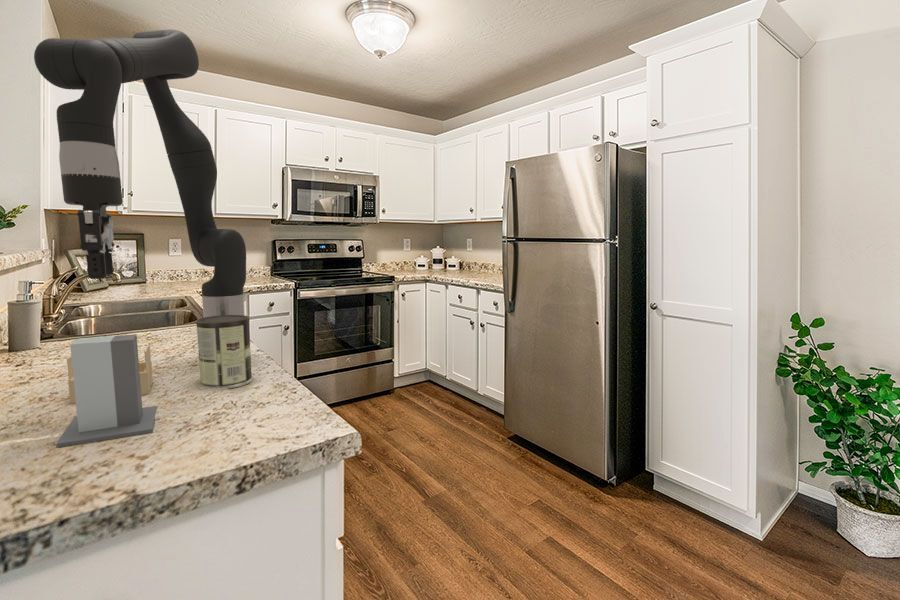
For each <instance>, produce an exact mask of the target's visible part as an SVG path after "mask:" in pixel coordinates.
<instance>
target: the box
mask: <svg viewBox="0 0 900 600" xmlns="http://www.w3.org/2000/svg"><path fill="white" fill-rule="evenodd" d="M137 335H138V334H134V333H133V334H124V335H122V334H121V335H110V336H108V335H107V336H95V337H93V336H92V337H82V338H81V337H80V338H76V339H75V340H74V341H72V343H70V355H71V357H72V367H73V378H74V388H75V399H76V403H75V406H76V417H77V420H78V430H79V432H85V431H91V430H98V429H105V428H111V427H118V426H125V425H132V424H138V423H140V421H141V417H142V414H143V411H142V408H143V401H142V395H141V385H140V372H139V363H140V362H139V350H138V336H137Z"/></svg>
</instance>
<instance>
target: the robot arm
mask: <svg viewBox="0 0 900 600" xmlns="http://www.w3.org/2000/svg"><path fill="white" fill-rule="evenodd" d="M33 59H34V65H35V66H36V70H37V71H38V72H39V74H40V75H41V76H42V77H43V79H45V80H46V81H47V82H48V83H50V84H51V85H53V86H55V87H57V88H61V89H64V90H79V91H81V90H82V94H81V96H80V98H78V99H75V100H73V101H69V102H66V103H62V104H60V105H58V107H57V108H56V123H57V131H58V140H59V154H58V157H59V159H58V160H59V168H60V169H59V171H60V178H61V187H62V195H63V202H64V203H65V204H67V205H71V206H82V209H78V210H77V212H76V213H77V218H78V226H79V237H80V246H79V247H80V249H81V250H82V252H83V253H84V255H86V257H85V258H86V265H87V276H88V278H89V279H91V280H101V279H105V278H107V276H108V275H110V276H111V275H112V274H113V273H114V272H115V271H114V263H113V254H112V253H113V251H114V248H115V243H114V240H115V239H114V238H115V237H114V236H115V234H114V230H113V228H114V221H113V218H112V215H111V213H107V207H120V206H122V205H123V202H124V201H123V192H122V191H123V190H122V180H121V172H120V170H121V169H120V161H119V157H118V154H117V148H116V138H115V131H114V130H115V128H114V127H115V126H114V119H115V113H116V107H117V103H118V99H119V95H120V90H121V86H122V84H127V83H132V82H136V81H140V80H142V82H143V84H144V88H145V89H146V92H147V94H148V97H149V100H150V102H151V105H152V108H153V111H154V114H155V117H156V119H157V123H158V126H159V129H160V133H161V136H162V140H163V143H164V147H165V151H166V154H167V159H168V162H169V164H170V168H171V171H172V175H173V177H174V180H175V183H176V187H177V190H178V194H179V198H180V203H181V205H182V206H181V207H182V209H183V214H184V219H185V223H186V224H185V225H186V230H187V235H188V240H189V245H190V249H191V252H192V254H193V256H194V258H195V260H196V262H198V263H199V264H200V265H202V266H204V267H213V269H214V270H213V271H214V272H213V276H212V277H211V279H209V280H208V281H205V282H203V283H202V285H201V300H202V301H201V302H202V318H204V317H211V316H220V315H244V316H245V301H244V300H245V299H244V297H245V296H244V288H245V285H246V282H247V281H246V280H247V248H246V246H247V245H246V243H245V239H244V238H243V236H242V235H241V233H240V232H238V231H237V230H235V229H231V228H217V224H216V222H215V217H214V214H213V207H212V206H213V205H212V203H213V198H214V192H215V188H216V184H217V178H218V168H217V164H216V161H215V160H216V159H215V157H214V156H215V155H214V153H213V149H212V145H211V141H210V140H209V139H208V138H207V136H206V134H205V133H204V132H203V131H202V130H201V128H199V127H198V126H197V124H195V122H193V120H192V119H190V118H189V116H188V115H187V114H186V113H185V112H184V111H183V110H182V109H181V107H180V106H179V105H178V103H177V102H176V100H175V98H174V95H173V93H172V92H171V89H170V86H169V83H168V82H169V81H171V80H179V79H180V80H181V79H183V80H184V79H188V78H191V77H193V76H195V75H196V74H197V73H198V70H199V67H200V62H199V61H200V60H199V56H198V53H197V48H196V47H195V45H194V43H193V41H192V39H190V37H189V36H188V35H187V34H186V33H185V32H183V31H180V30H179V29H178V30H177V29H161V30H151V31H150V30H149V31H141V32H136V33H135V34H133V36H132V37H99V38H94V39H87V38H85V39H84V38H59V37H55V38H54V37H50V38H47V39H43V40H42V41H40V42H39V43H38V44H37V45H36V47H35V49H34V54H33Z"/></svg>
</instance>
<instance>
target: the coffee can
mask: <svg viewBox="0 0 900 600" xmlns="http://www.w3.org/2000/svg"><path fill="white" fill-rule="evenodd" d="M195 324H196V335H197V349H198V362H199V363H198V364H199V373H200V374H199V376H200V384H201V385H202V386H203V387H204V386H205V387H208V388H224V387H227V388H228V389H235V388H240V387H243V386H245V385H248V384H250V383H251V382H252V381H253V375H252V357H251V356H252V355H251V338H250V317H249V316H248V315H245V314H244V315H220V316H211V317H204V318H203V317H200V318H198V319H196V320H195Z"/></svg>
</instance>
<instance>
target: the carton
mask: <svg viewBox="0 0 900 600" xmlns="http://www.w3.org/2000/svg"><path fill="white" fill-rule="evenodd" d="M150 345H151V344H150V343H147V345H146V347H145V349H144V353H143V354H144V361H142V362H139V372H140V385H141V396H146V395H150V392H151V388H152V386H153V381H154V380H153V368H152V360H151V359H152V358H151V357H152V356H151V346H150ZM66 365H67V373H68V374H67V375H68V380H67V382H68V384H67V385H68V392H69V393H68V395H69V404H70V405H73V404H75V405H76V399H75V388H74V378H73V367H72V357H71V354H70V355H69V356H68V357H67V358H66Z"/></svg>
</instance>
